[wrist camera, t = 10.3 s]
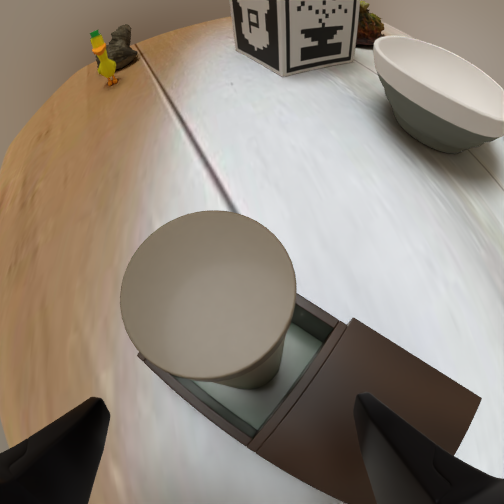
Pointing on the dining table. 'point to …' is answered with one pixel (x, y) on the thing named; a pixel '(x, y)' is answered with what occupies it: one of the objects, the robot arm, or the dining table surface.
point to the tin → (211, 299)
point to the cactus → (368, 26)
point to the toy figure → (103, 57)
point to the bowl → (439, 94)
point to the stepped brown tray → (331, 401)
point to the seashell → (120, 47)
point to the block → (296, 33)
